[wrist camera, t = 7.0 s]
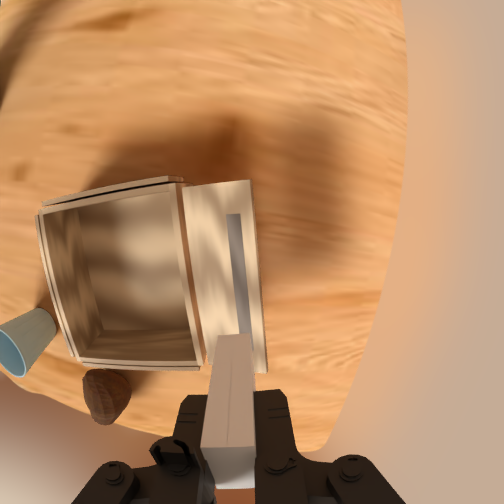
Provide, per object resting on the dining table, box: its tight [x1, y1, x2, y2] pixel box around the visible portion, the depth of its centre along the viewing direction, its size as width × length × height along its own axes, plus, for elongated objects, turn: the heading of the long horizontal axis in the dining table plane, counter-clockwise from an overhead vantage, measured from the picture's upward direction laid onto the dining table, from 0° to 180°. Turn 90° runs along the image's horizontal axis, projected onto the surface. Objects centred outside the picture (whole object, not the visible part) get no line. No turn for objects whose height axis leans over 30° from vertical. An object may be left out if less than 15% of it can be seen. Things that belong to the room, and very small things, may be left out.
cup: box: [0, 308, 56, 377], centre depth 30 cm, size 8×8×10 cm
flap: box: [182, 179, 268, 374], centre depth 24 cm, size 17×1×6 cm
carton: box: [35, 175, 206, 371], centre depth 29 cm, size 20×17×8 cm
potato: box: [82, 369, 131, 425], centre depth 33 cm, size 7×10×8 cm
